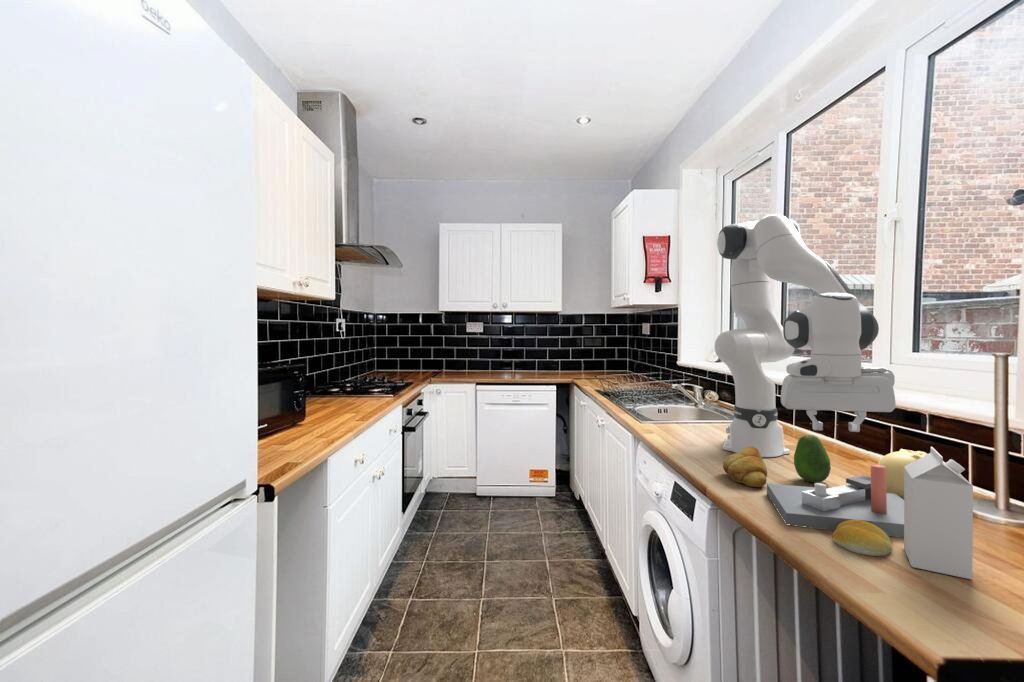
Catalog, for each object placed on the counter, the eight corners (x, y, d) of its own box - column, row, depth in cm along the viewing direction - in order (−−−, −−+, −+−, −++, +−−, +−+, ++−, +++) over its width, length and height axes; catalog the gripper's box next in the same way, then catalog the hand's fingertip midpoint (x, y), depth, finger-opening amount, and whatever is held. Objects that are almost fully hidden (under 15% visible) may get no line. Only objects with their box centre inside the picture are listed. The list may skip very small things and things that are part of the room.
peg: (869, 508, 89) (868, 464, 89) (883, 509, 89) (882, 465, 89) (874, 512, 87) (873, 467, 87) (889, 514, 86) (888, 468, 86)
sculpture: (961, 508, 94) (961, 458, 94) (896, 505, 96) (896, 456, 96) (922, 488, 105) (922, 444, 105) (865, 486, 108) (865, 442, 107)
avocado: (790, 475, 116) (789, 430, 116) (825, 478, 114) (825, 432, 113) (798, 485, 109) (798, 438, 109) (836, 489, 106) (835, 440, 106)
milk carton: (911, 568, 72) (912, 454, 71) (903, 549, 78) (903, 443, 77) (972, 581, 68) (973, 460, 68) (959, 560, 74) (960, 449, 73)
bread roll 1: (775, 491, 106) (774, 458, 106) (731, 489, 108) (731, 457, 108) (758, 473, 118) (758, 444, 118) (719, 472, 121) (719, 443, 121)
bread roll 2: (829, 547, 80) (829, 526, 80) (839, 530, 86) (838, 510, 86) (889, 564, 74) (889, 541, 74) (894, 545, 80) (894, 523, 80)
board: (767, 493, 104) (766, 464, 104) (895, 504, 96) (895, 473, 96) (786, 525, 88) (786, 490, 88) (942, 541, 80) (942, 503, 80)
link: (823, 511, 88) (823, 499, 88) (801, 503, 93) (801, 491, 92) (869, 501, 92) (869, 490, 92) (846, 494, 97) (846, 482, 97)
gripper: (886, 366, 94) (886, 429, 95) (778, 365, 101) (779, 425, 101) (902, 368, 88) (902, 436, 89) (786, 368, 95) (786, 431, 95)
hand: (835, 430), depth 95 cm, fingers open, 5 cm apart
